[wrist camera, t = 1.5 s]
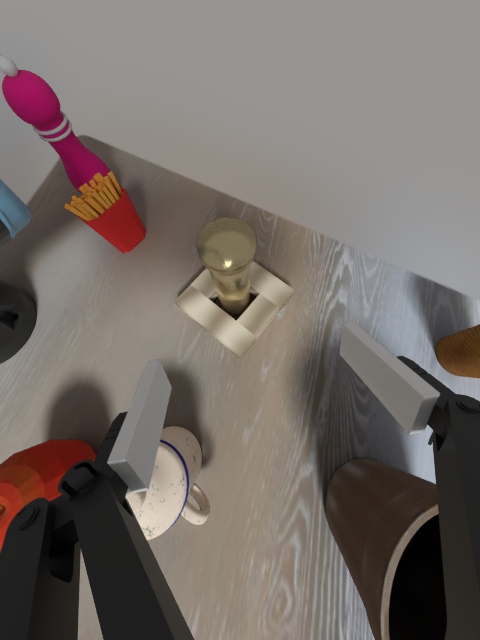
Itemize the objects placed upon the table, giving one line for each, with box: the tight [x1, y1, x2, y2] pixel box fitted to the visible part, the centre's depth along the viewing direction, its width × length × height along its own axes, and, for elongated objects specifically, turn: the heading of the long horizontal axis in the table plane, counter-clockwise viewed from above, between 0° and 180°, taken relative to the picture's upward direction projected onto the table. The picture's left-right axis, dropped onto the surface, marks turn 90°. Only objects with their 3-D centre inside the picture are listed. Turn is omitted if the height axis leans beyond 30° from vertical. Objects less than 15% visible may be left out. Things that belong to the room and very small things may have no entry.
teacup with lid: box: [126, 426, 210, 540], centre depth 25 cm, size 12×9×12 cm
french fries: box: [64, 171, 146, 253], centre depth 36 cm, size 8×4×12 cm, turn 141°
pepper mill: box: [0, 55, 111, 194], centre depth 35 cm, size 7×7×20 cm
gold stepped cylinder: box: [197, 217, 256, 315], centre depth 29 cm, size 6×6×16 cm
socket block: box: [174, 261, 294, 358], centre depth 36 cm, size 14×14×2 cm
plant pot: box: [325, 458, 447, 640], centre depth 21 cm, size 16×16×16 cm
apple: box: [0, 440, 96, 552], centre depth 25 cm, size 10×10×12 cm
